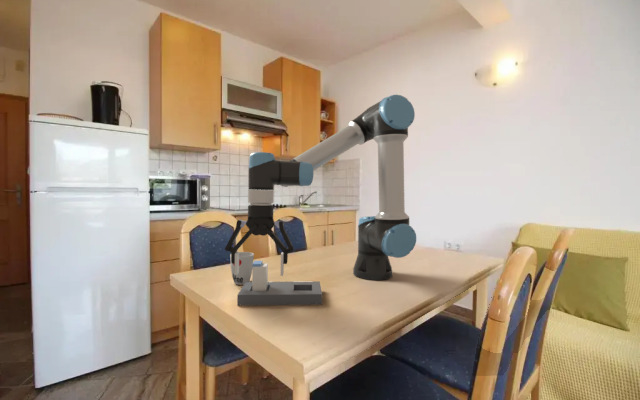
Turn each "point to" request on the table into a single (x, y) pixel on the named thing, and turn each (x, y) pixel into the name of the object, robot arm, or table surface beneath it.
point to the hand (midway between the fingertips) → (259, 274)
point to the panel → (282, 294)
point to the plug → (260, 276)
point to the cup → (243, 268)
